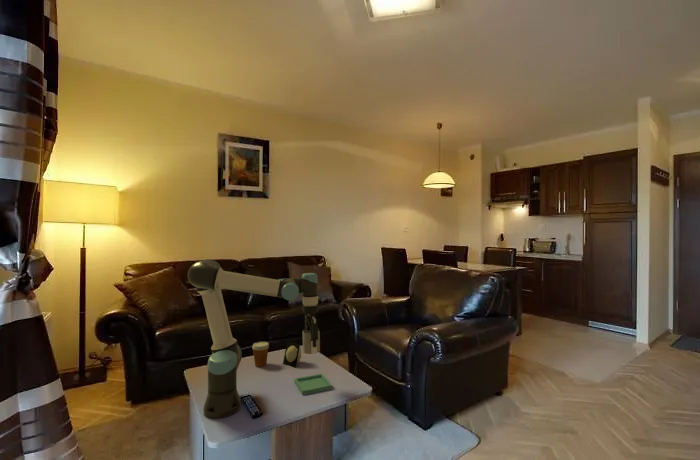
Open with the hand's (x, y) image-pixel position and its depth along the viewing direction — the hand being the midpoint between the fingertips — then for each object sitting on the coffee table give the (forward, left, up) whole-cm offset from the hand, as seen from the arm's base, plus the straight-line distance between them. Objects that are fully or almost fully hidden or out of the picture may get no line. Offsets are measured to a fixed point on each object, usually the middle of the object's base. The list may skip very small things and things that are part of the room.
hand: (311, 350), depth 166 cm
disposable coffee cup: (-19, +39, -18) cm, 47 cm away
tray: (+1, +1, -18) cm, 18 cm away
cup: (0, 0, 0) cm, 0 cm away
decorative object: (-1, +33, -18) cm, 38 cm away
